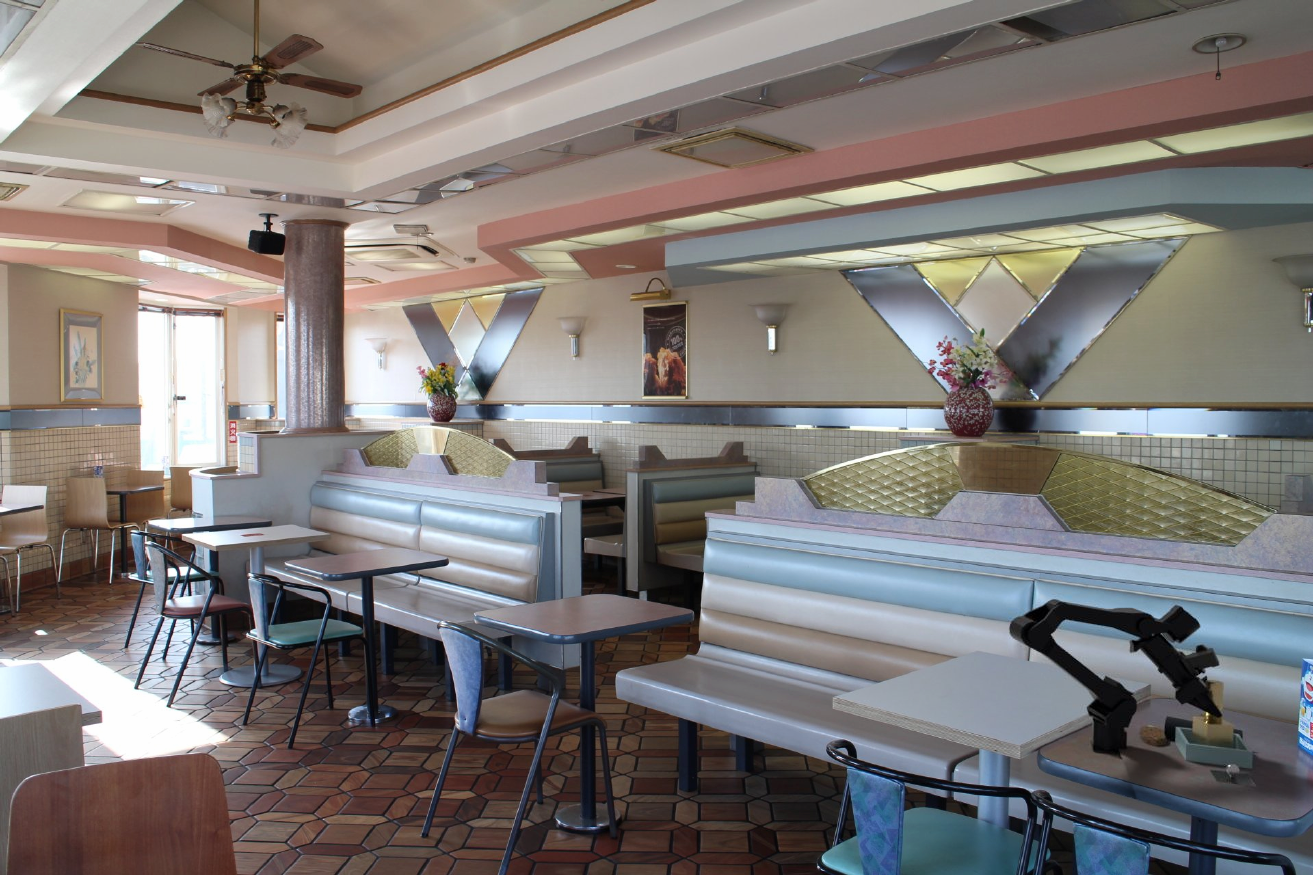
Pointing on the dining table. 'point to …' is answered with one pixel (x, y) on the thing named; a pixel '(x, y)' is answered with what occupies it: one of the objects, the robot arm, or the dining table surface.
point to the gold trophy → (1213, 720)
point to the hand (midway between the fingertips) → (1220, 714)
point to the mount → (1232, 776)
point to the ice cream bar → (1152, 735)
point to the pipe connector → (1184, 726)
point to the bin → (1213, 750)
